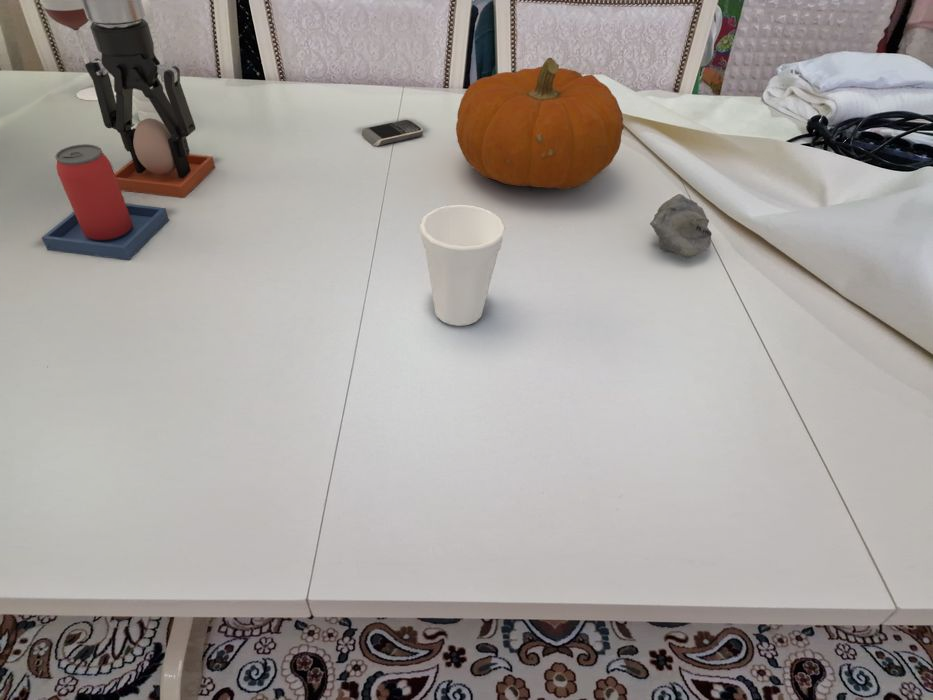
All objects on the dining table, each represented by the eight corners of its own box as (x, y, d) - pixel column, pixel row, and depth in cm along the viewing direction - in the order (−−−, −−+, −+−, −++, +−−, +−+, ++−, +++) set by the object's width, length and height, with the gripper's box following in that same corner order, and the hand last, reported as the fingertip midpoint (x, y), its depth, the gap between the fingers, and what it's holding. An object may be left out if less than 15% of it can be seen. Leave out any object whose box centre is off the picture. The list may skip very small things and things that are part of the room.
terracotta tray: (112, 189, 100) (108, 178, 98) (149, 159, 108) (145, 149, 107) (184, 197, 99) (181, 186, 98) (215, 167, 107) (212, 156, 106)
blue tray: (47, 249, 86) (41, 237, 85) (94, 210, 95) (89, 199, 93) (129, 260, 86) (124, 247, 84) (169, 219, 94) (165, 208, 92)
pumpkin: (627, 163, 116) (654, 50, 103) (586, 230, 97) (612, 102, 84) (489, 131, 124) (498, 23, 111) (426, 187, 105) (427, 64, 92)
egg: (149, 164, 105) (132, 111, 99) (189, 164, 106) (175, 111, 100) (138, 182, 100) (119, 127, 94) (180, 182, 101) (164, 127, 95)
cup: (436, 345, 75) (438, 255, 67) (409, 298, 82) (407, 211, 73) (509, 327, 79) (520, 239, 70) (477, 283, 85) (483, 198, 76)
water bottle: (135, 126, 117) (97, -25, 101) (144, 113, 122) (108, -32, 106) (184, 127, 119) (154, -21, 103) (190, 115, 124) (162, -28, 107)
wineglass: (89, 83, 133) (47, -34, 118) (130, 88, 132) (94, -30, 118) (63, 98, 127) (16, -25, 112) (107, 102, 126) (65, -20, 111)
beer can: (84, 223, 91) (51, 145, 83) (133, 216, 93) (105, 139, 85) (83, 246, 87) (48, 166, 78) (134, 238, 89) (105, 159, 81)
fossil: (674, 275, 89) (690, 227, 84) (626, 247, 94) (638, 200, 89) (719, 251, 94) (736, 204, 89) (671, 226, 100) (685, 180, 94)
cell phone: (425, 136, 121) (425, 129, 120) (375, 148, 116) (375, 140, 115) (409, 125, 125) (409, 118, 124) (360, 136, 120) (359, 129, 119)
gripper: (195, 19, 89) (229, 168, 105) (69, 8, 91) (121, 156, 106) (170, 34, 84) (209, 188, 99) (36, 21, 85) (96, 175, 101)
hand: (164, 171), depth 103 cm, fingers closed on egg, 7 cm apart
